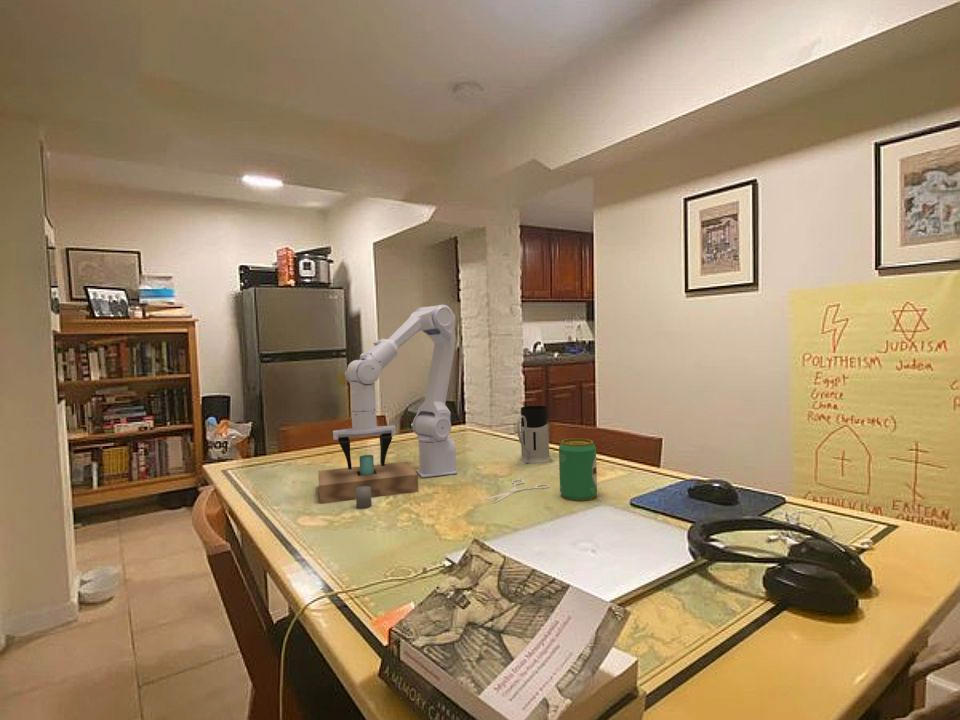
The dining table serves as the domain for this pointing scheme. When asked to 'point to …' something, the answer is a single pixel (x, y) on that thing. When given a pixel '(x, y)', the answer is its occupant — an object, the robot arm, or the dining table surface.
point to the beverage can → (578, 469)
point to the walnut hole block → (367, 481)
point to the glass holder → (534, 434)
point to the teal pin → (366, 465)
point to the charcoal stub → (363, 497)
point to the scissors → (517, 489)
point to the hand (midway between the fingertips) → (366, 466)
